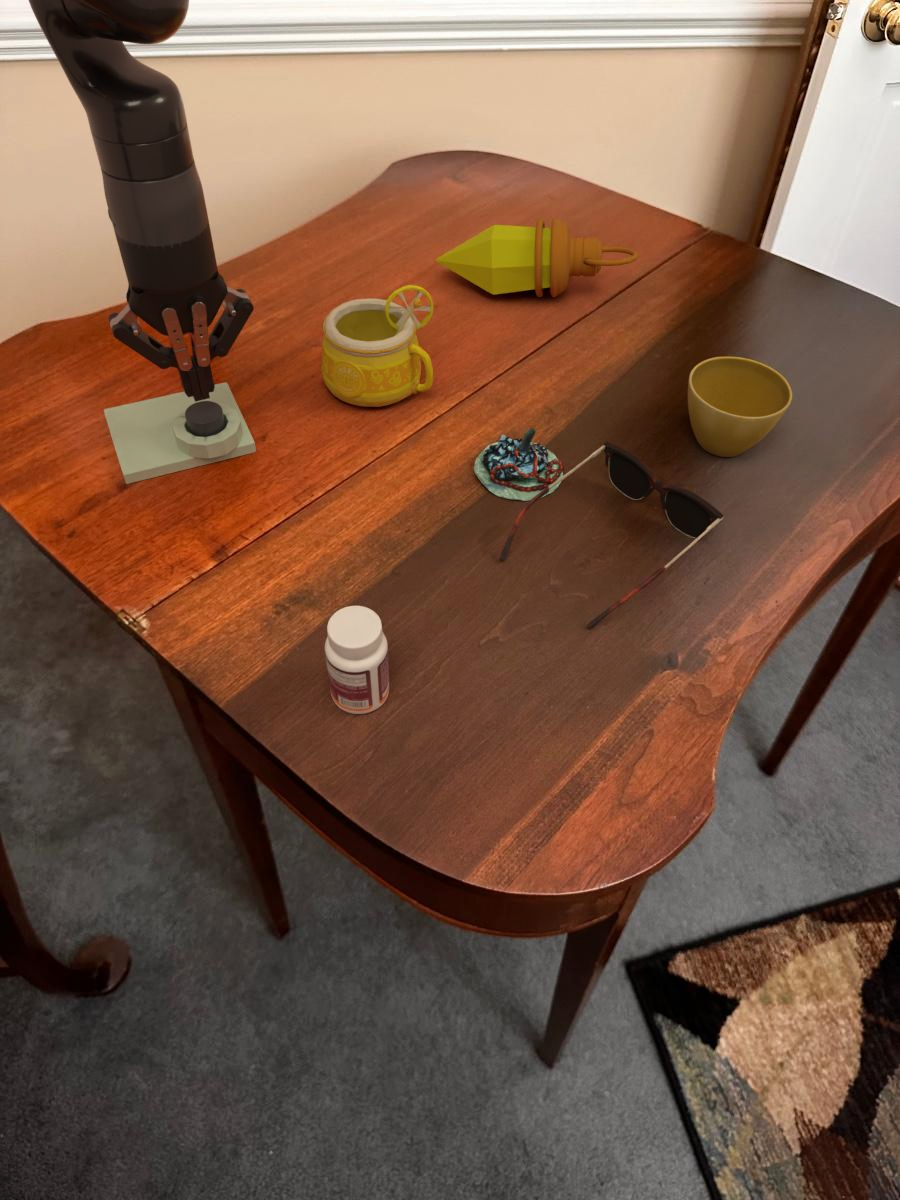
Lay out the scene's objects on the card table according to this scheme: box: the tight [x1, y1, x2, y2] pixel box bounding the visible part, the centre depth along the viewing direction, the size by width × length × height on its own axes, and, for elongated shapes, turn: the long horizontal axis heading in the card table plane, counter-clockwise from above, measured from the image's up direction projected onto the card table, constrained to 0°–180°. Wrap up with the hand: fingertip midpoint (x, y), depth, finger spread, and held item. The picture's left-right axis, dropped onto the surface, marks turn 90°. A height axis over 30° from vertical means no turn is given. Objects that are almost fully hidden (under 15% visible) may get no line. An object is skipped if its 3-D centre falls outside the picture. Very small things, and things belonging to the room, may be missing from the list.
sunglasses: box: [499, 441, 725, 630], centre depth 79 cm, size 14×16×5 cm
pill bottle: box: [324, 605, 390, 715], centre depth 67 cm, size 5×5×8 cm
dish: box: [473, 427, 564, 502], centre depth 87 cm, size 8×7×8 cm
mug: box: [321, 284, 435, 408], centre depth 91 cm, size 13×11×12 cm
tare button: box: [185, 401, 225, 437], centre depth 86 cm, size 4×4×2 cm
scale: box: [102, 381, 257, 485], centre depth 88 cm, size 13×12×3 cm
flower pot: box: [687, 356, 793, 458], centre depth 89 cm, size 10×10×7 cm
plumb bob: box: [434, 216, 639, 298], centre depth 107 cm, size 9×9×25 cm
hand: (200, 395), depth 84 cm, fingers closed
